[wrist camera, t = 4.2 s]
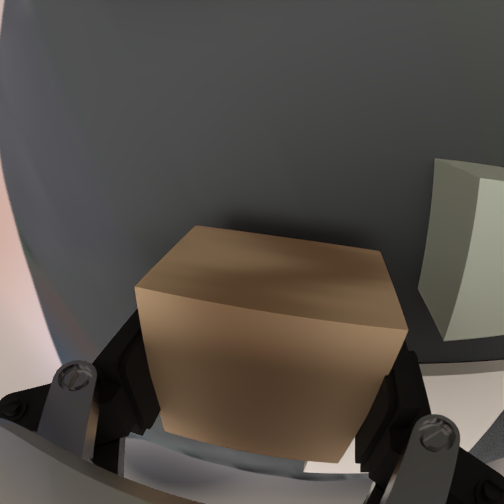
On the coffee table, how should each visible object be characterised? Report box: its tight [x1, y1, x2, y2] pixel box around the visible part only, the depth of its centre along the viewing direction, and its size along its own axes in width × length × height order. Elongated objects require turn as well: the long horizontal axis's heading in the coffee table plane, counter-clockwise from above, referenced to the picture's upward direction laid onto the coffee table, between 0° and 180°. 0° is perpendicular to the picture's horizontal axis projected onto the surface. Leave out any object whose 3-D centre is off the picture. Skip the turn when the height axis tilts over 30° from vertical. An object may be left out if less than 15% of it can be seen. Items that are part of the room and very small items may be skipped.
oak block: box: [135, 225, 408, 464], centre depth 9 cm, size 6×6×4 cm
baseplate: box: [304, 360, 504, 473], centre depth 17 cm, size 14×12×1 cm
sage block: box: [418, 158, 504, 341], centre depth 10 cm, size 6×6×4 cm
